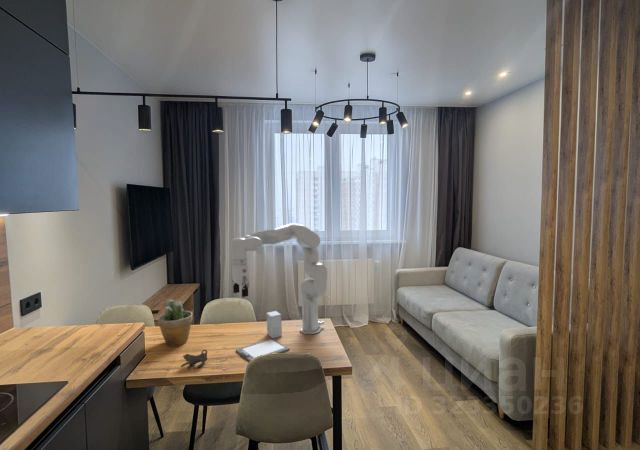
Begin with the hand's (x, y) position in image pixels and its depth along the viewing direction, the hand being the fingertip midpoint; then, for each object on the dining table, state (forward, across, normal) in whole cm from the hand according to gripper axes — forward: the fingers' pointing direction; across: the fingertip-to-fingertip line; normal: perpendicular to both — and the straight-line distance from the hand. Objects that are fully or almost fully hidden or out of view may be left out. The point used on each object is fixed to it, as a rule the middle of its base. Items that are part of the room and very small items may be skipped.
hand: (240, 294), depth 176 cm
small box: (+31, +9, -25) cm, 41 cm away
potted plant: (+31, +38, +22) cm, 54 cm away
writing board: (+31, -5, -9) cm, 33 cm away
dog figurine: (+32, +3, +24) cm, 40 cm away
